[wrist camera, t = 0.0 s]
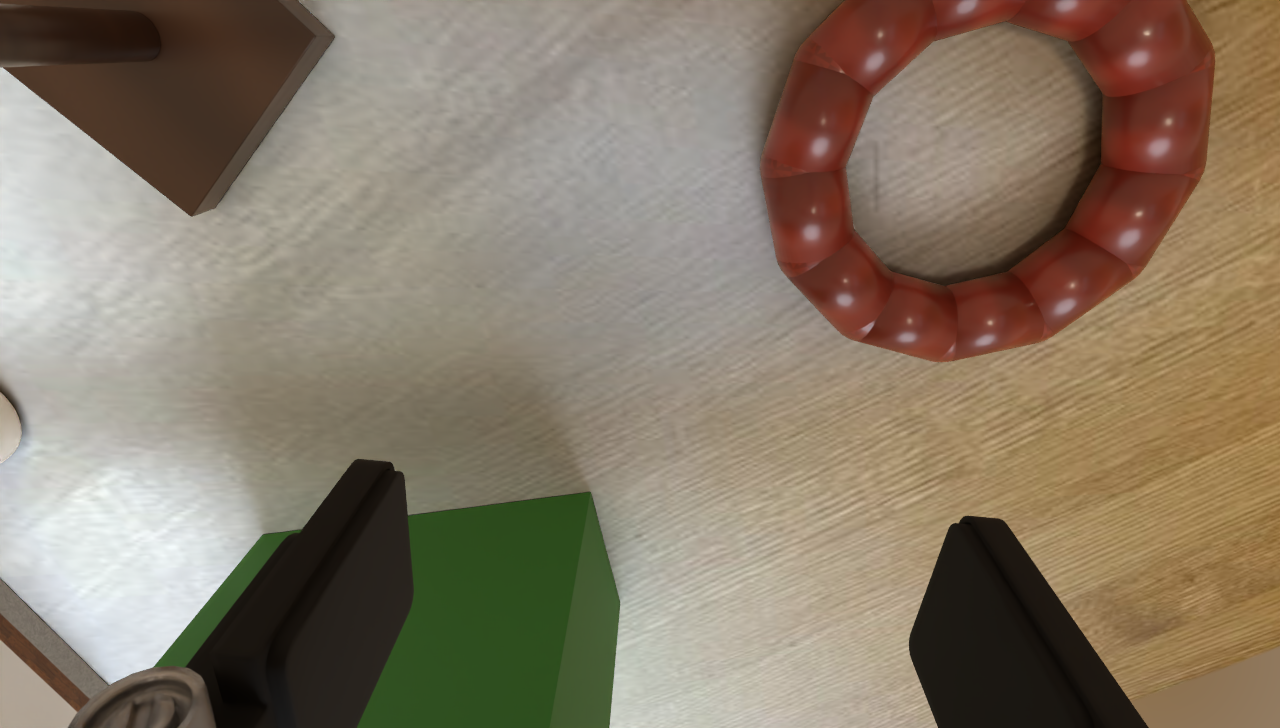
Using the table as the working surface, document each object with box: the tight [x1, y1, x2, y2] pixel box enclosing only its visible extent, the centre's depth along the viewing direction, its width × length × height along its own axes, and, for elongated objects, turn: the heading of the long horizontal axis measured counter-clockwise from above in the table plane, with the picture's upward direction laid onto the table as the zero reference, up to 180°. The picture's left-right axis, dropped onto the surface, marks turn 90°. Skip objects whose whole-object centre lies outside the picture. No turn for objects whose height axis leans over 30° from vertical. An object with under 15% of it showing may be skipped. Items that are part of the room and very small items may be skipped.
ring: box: [760, 0, 1215, 362], centre depth 24 cm, size 15×15×3 cm
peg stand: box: [0, 0, 335, 217], centre depth 19 cm, size 9×9×14 cm
